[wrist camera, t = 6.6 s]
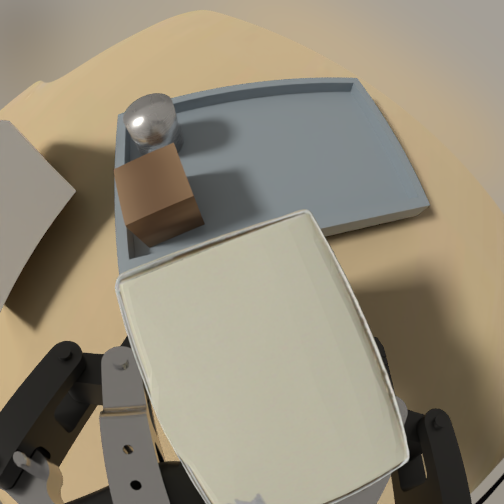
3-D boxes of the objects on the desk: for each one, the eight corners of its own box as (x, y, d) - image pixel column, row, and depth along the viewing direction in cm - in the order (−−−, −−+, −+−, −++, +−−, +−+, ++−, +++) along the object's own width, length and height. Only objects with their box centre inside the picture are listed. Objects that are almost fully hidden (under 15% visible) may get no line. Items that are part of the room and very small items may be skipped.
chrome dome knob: (181, 123, 20) (171, 88, 16) (185, 155, 19) (174, 120, 15) (139, 134, 20) (124, 102, 16) (140, 168, 19) (121, 136, 15)
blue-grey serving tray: (349, 98, 24) (356, 78, 21) (411, 220, 20) (430, 205, 17) (129, 135, 22) (118, 114, 19) (137, 283, 18) (119, 274, 16)
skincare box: (310, 384, 15) (420, 468, 4) (244, 410, 15) (231, 545, 3) (271, 290, 17) (315, 195, 5) (205, 315, 16) (104, 275, 5)
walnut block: (186, 176, 19) (173, 142, 15) (205, 224, 18) (193, 195, 14) (135, 198, 18) (113, 169, 14) (149, 247, 17) (124, 225, 13)
